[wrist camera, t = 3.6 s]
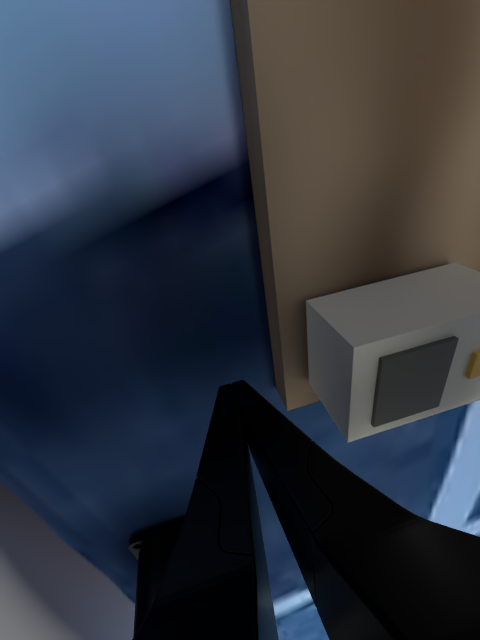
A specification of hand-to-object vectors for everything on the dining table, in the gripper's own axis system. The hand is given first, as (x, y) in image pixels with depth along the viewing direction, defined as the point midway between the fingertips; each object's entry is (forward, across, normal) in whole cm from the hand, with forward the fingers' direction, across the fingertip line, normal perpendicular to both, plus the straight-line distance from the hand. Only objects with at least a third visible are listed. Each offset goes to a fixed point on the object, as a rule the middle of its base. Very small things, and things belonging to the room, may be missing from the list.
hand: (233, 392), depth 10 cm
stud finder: (+1, -6, 0) cm, 6 cm away
